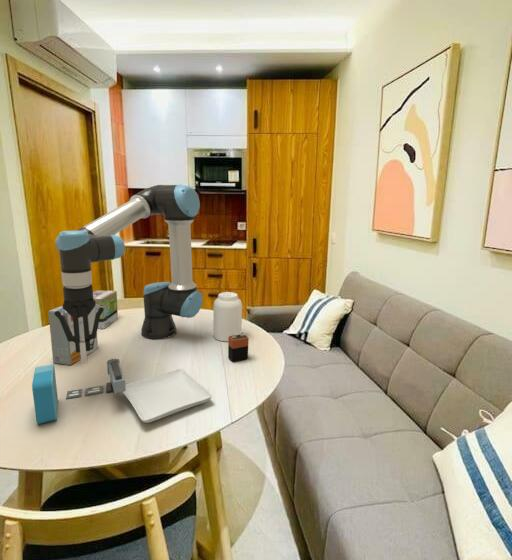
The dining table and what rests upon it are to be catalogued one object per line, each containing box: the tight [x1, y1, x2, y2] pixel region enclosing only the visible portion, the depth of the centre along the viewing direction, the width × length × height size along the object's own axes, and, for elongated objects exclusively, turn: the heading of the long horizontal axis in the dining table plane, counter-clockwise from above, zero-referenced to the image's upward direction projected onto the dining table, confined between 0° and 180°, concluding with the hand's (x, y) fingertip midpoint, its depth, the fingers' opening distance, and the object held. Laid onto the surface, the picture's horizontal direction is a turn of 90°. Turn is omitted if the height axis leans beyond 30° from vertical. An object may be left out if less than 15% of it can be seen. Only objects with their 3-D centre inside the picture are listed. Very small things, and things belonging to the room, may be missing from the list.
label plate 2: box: [84, 385, 104, 397], centre depth 104 cm, size 5×4×1 cm
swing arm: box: [106, 358, 126, 395], centre depth 100 cm, size 15×4×5 cm, turn 30°
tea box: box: [93, 289, 119, 330], centre depth 159 cm, size 15×10×15 cm, turn 179°
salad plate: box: [121, 368, 213, 423], centre depth 101 cm, size 21×21×3 cm
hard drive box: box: [48, 305, 99, 366], centre depth 125 cm, size 16×8×20 cm, turn 168°
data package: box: [31, 363, 59, 425], centre depth 92 cm, size 12×4×12 cm, turn 29°
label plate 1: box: [65, 388, 83, 400], centre depth 102 cm, size 4×4×1 cm
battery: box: [227, 332, 250, 363], centre depth 128 cm, size 4×7×10 cm, turn 118°
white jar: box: [212, 291, 243, 342], centre depth 147 cm, size 12×12×20 cm
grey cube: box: [105, 378, 114, 394], centre depth 106 cm, size 5×5×5 cm
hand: (84, 361), depth 101 cm, fingers closed
